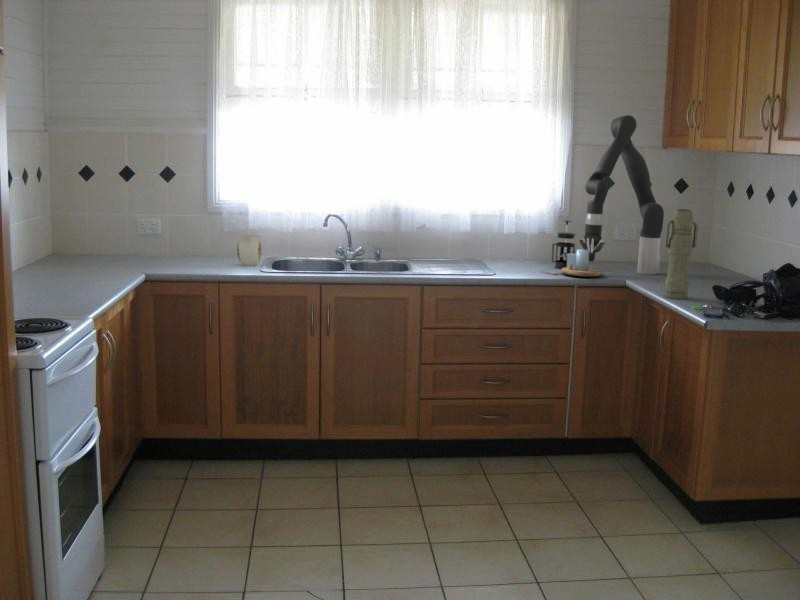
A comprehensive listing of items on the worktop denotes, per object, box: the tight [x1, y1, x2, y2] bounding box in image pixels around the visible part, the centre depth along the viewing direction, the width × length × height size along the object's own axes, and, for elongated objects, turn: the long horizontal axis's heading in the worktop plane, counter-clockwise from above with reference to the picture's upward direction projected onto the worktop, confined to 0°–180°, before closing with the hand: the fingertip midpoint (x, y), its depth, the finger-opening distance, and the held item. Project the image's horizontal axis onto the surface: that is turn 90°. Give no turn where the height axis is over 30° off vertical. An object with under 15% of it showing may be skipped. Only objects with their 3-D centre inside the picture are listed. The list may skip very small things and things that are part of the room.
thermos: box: [664, 208, 699, 300], centre depth 345 cm, size 9×12×35 cm
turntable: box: [561, 264, 603, 277], centre depth 397 cm, size 18×18×8 cm
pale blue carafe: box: [566, 248, 589, 271], centre depth 397 cm, size 10×6×9 cm, turn 72°
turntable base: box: [571, 275, 592, 278], centre depth 398 cm, size 9×9×1 cm
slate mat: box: [540, 269, 565, 276], centre depth 404 cm, size 10×10×1 cm
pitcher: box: [236, 234, 262, 267], centre depth 398 cm, size 11×18×14 cm, turn 7°
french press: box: [551, 219, 577, 270], centre depth 418 cm, size 12×9×23 cm
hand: (590, 261), depth 402 cm, fingers closed
